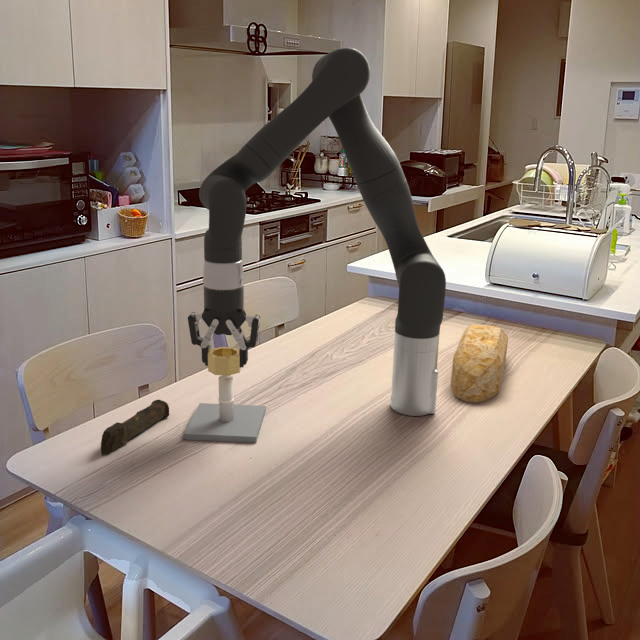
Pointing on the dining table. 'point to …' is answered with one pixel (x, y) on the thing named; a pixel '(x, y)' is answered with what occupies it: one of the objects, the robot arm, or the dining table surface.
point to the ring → (224, 361)
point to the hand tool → (132, 426)
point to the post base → (226, 430)
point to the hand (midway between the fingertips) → (224, 365)
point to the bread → (479, 363)
